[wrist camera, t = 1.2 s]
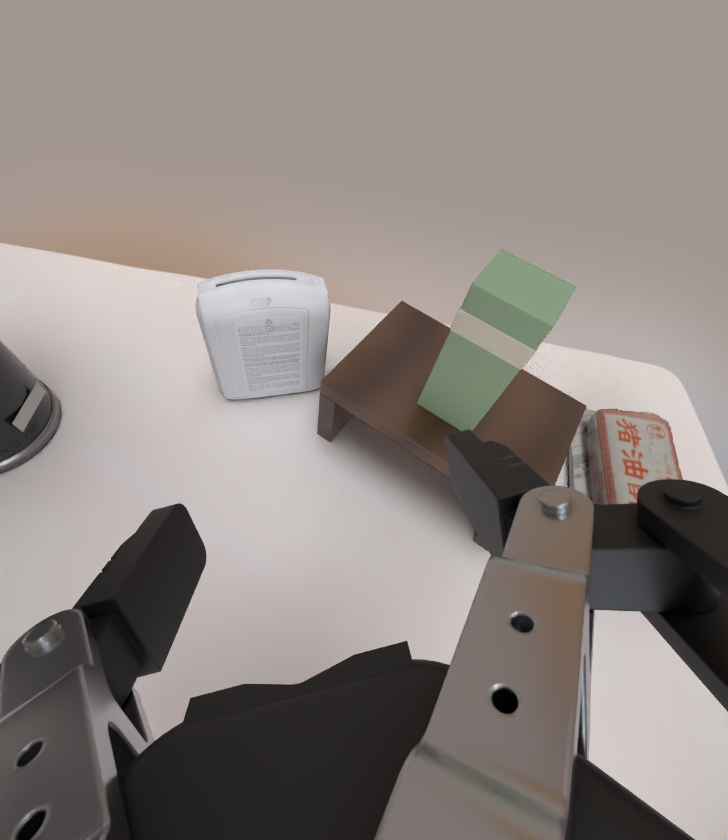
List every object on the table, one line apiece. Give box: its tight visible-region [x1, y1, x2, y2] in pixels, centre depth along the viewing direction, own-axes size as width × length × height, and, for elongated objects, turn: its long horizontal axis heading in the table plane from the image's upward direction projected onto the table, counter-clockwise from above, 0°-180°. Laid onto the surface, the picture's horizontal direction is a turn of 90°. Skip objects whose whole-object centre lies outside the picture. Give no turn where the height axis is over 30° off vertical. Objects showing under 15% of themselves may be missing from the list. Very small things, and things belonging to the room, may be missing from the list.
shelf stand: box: [317, 301, 586, 550], centre depth 33 cm, size 18×12×8 cm, turn 56°
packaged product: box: [569, 409, 683, 505], centre depth 33 cm, size 18×5×10 cm
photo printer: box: [196, 270, 330, 399], centre depth 32 cm, size 10×4×12 cm, turn 105°
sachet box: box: [417, 249, 576, 431], centre depth 24 cm, size 5×4×11 cm
